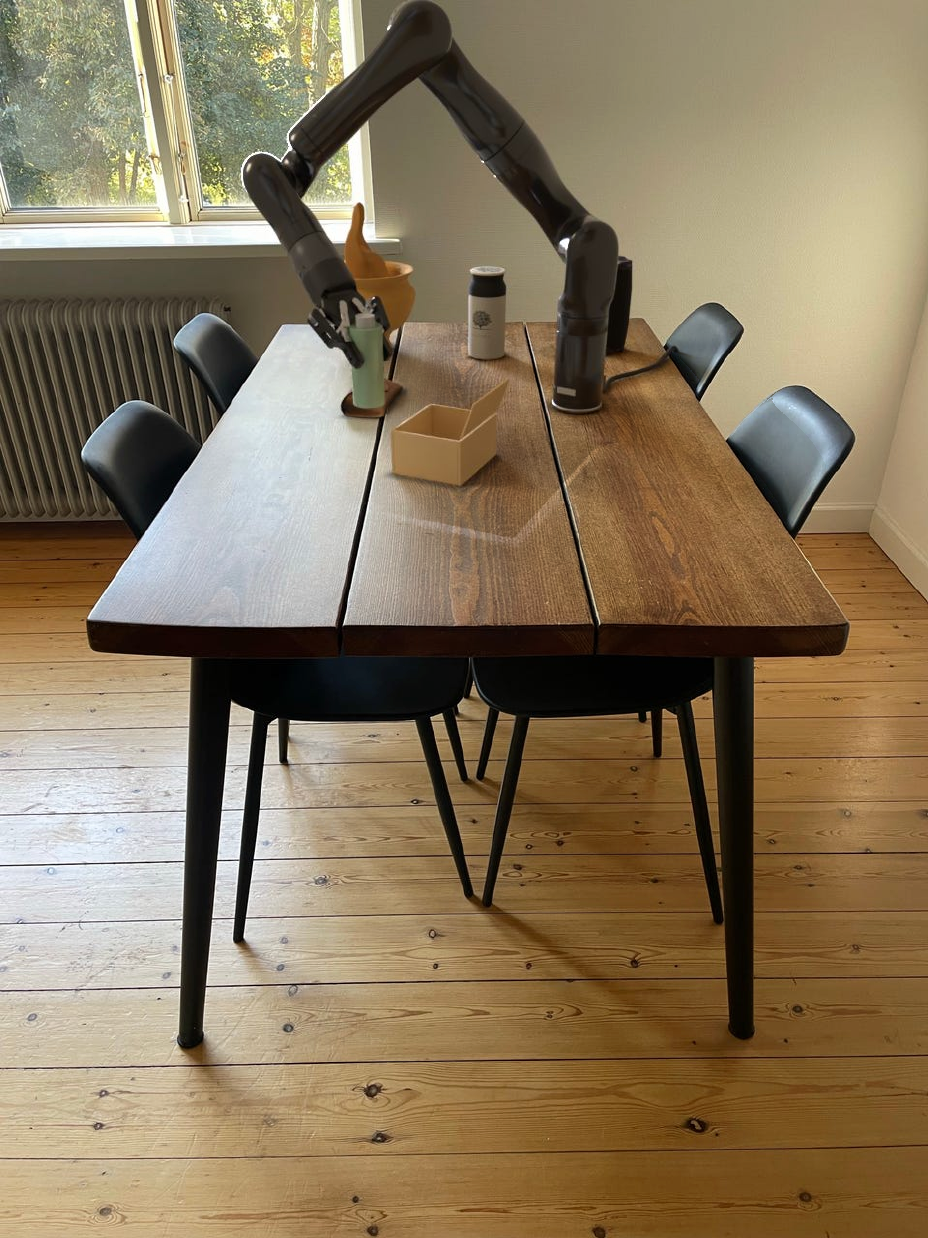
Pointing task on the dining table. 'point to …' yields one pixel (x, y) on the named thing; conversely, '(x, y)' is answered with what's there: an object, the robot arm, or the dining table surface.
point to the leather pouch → (353, 411)
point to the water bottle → (368, 362)
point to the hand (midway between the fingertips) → (374, 361)
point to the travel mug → (487, 313)
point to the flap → (484, 407)
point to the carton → (442, 445)
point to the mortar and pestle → (378, 275)
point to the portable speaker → (620, 307)
